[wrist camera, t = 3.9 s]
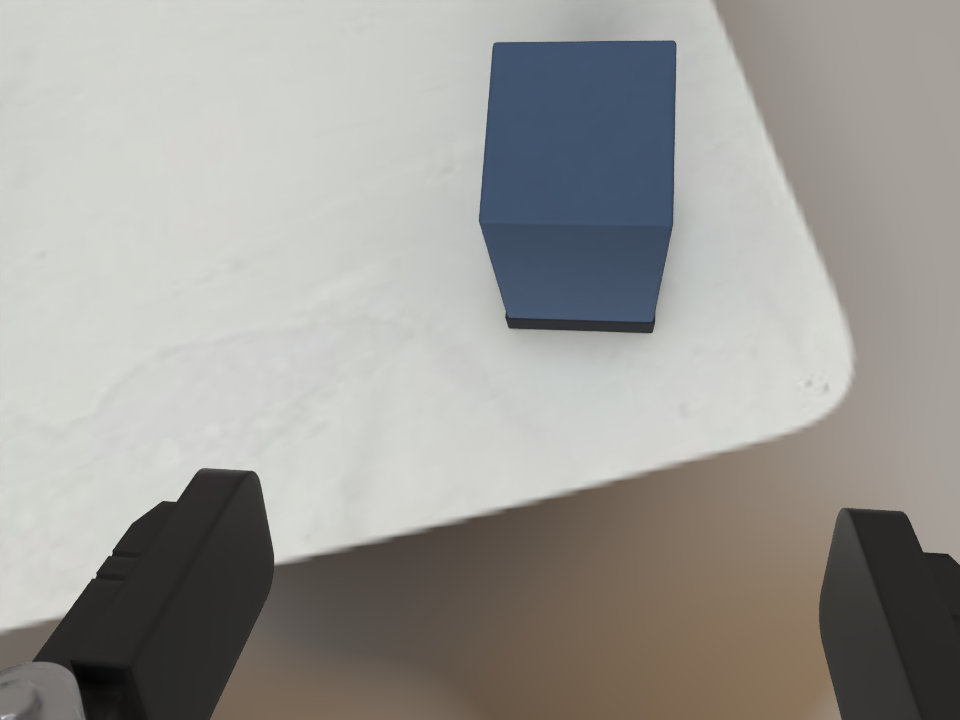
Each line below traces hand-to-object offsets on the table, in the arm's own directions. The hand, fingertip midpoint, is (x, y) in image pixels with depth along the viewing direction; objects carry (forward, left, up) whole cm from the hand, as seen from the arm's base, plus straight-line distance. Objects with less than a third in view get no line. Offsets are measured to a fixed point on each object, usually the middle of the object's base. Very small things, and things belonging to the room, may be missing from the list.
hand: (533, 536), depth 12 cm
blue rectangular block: (+10, -2, -14) cm, 17 cm away
